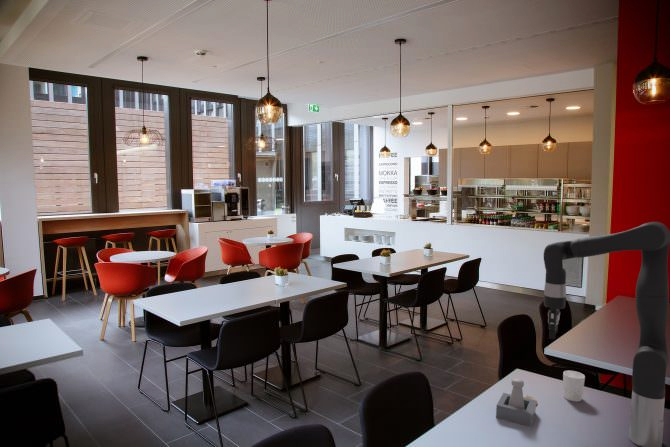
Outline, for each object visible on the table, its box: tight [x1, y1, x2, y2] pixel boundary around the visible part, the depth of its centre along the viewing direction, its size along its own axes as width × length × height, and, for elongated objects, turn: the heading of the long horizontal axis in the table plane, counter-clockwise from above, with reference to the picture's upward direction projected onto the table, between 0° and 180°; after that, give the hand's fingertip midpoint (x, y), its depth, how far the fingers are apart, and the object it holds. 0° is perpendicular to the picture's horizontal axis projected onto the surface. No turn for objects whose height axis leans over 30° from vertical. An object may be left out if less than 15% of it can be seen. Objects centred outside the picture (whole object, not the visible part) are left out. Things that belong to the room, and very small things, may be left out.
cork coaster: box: [523, 394, 538, 406], centre depth 190 cm, size 9×9×1 cm
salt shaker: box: [508, 378, 525, 410], centre depth 178 cm, size 6×6×13 cm
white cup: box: [562, 370, 586, 403], centre depth 193 cm, size 8×8×10 cm
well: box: [495, 392, 537, 427], centre depth 178 cm, size 12×12×5 cm
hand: (553, 335), depth 182 cm, fingers open, 8 cm apart
